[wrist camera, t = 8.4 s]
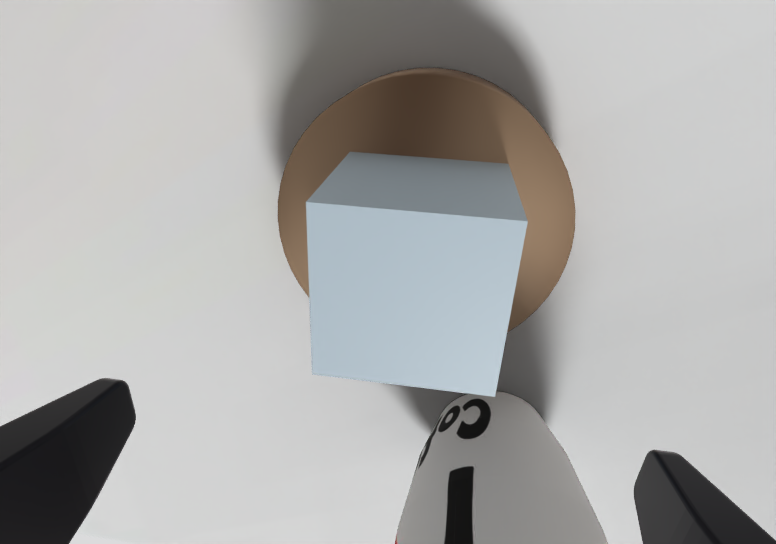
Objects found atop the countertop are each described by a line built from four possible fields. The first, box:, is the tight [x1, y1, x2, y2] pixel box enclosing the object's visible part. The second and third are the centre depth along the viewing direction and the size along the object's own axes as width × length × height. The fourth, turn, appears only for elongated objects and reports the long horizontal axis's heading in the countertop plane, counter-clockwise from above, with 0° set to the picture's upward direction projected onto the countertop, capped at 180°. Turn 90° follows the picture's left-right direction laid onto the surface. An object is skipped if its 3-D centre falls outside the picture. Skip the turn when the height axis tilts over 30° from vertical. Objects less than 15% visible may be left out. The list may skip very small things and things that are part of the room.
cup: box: [395, 391, 608, 544], centre depth 19 cm, size 8×8×10 cm
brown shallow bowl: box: [278, 68, 575, 332], centre depth 18 cm, size 10×10×2 cm
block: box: [306, 152, 528, 397], centre depth 14 cm, size 5×5×5 cm
